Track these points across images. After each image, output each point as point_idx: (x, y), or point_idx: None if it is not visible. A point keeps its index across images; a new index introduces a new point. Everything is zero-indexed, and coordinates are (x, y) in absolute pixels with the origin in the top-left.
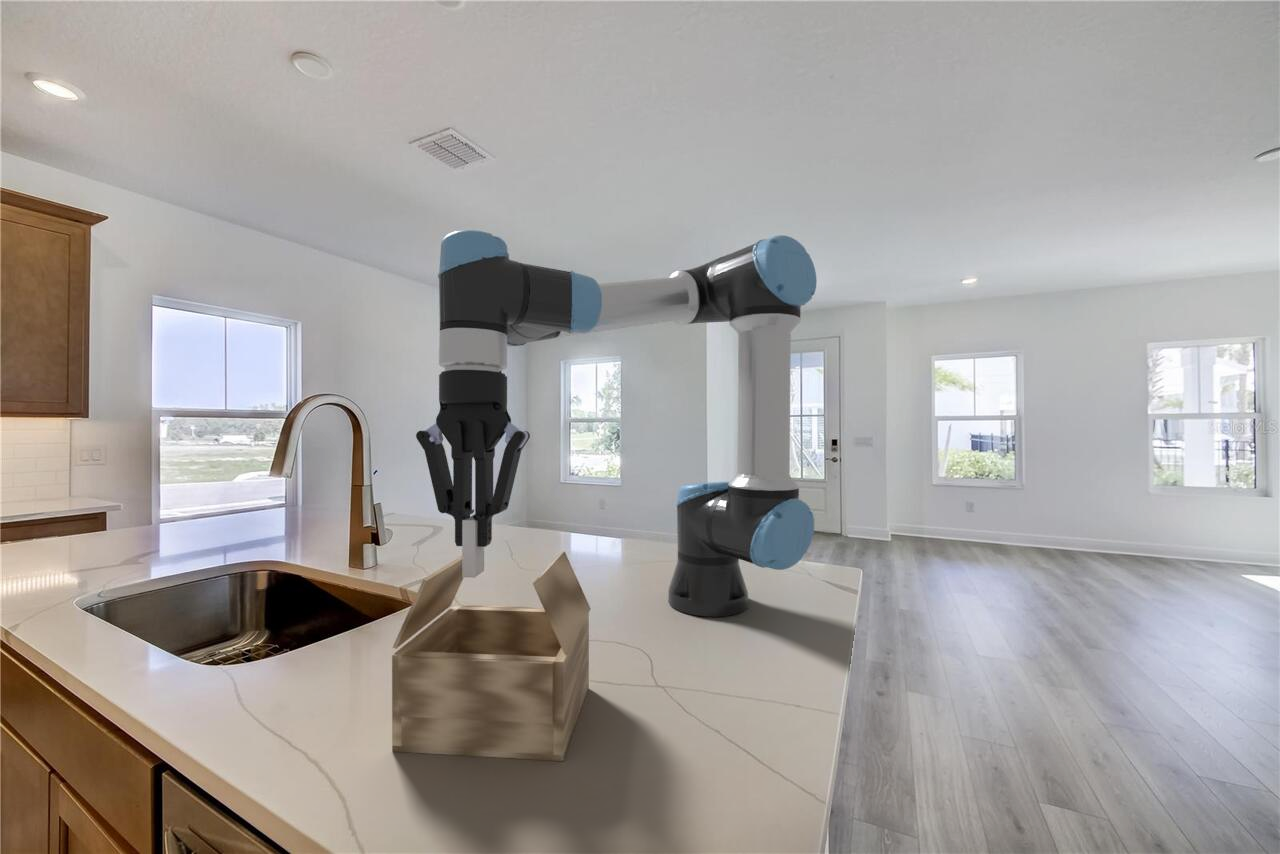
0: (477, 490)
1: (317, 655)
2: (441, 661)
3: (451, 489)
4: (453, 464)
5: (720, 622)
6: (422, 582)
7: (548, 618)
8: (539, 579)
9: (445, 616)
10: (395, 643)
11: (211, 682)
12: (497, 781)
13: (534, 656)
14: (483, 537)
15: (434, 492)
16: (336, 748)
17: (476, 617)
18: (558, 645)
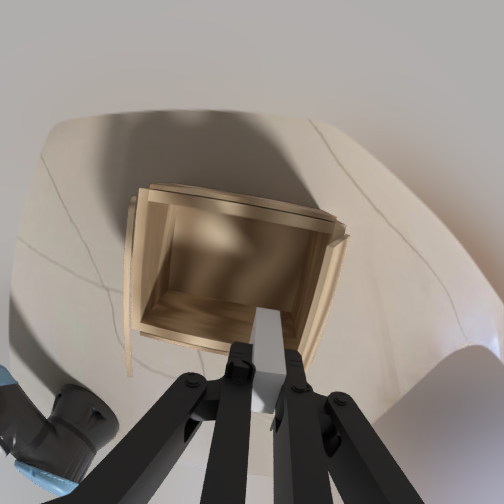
0: (242, 429)
1: (418, 364)
2: (283, 205)
3: (330, 457)
4: (332, 501)
5: (74, 377)
6: (333, 246)
7: (135, 202)
8: (126, 228)
9: None
10: (348, 235)
11: (470, 323)
12: (224, 167)
13: (171, 203)
14: (238, 353)
15: (372, 429)
16: (368, 225)
17: None
18: (176, 311)
